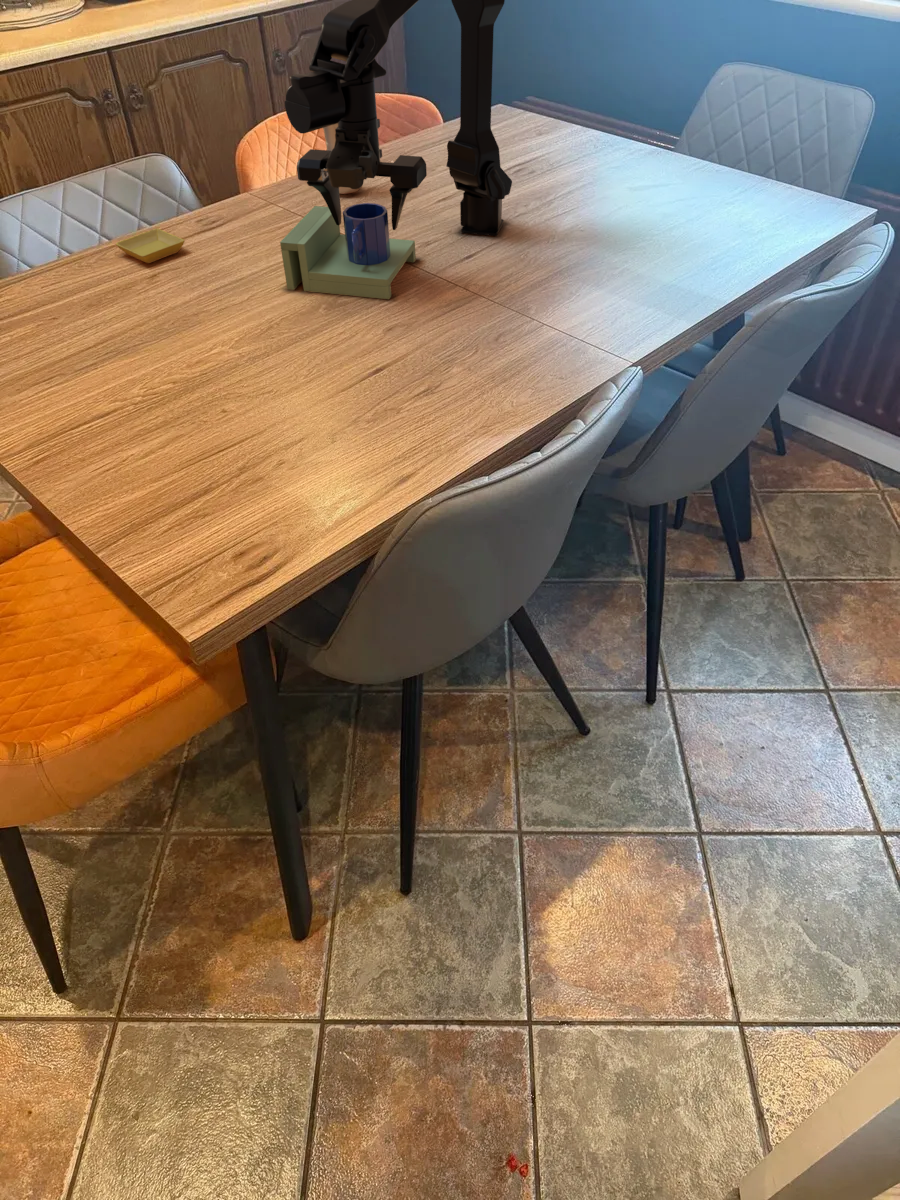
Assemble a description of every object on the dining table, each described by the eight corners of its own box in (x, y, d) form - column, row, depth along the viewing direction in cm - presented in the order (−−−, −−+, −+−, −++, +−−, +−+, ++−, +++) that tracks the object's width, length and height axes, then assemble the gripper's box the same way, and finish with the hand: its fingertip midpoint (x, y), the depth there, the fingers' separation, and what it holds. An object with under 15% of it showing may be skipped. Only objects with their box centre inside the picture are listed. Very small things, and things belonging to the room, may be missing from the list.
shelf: (415, 259, 144) (413, 213, 138) (389, 299, 133) (385, 251, 128) (320, 250, 147) (314, 205, 141) (287, 289, 137) (279, 242, 131)
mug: (395, 249, 139) (392, 204, 134) (377, 273, 133) (374, 227, 128) (355, 246, 140) (351, 201, 135) (336, 269, 134) (331, 224, 129)
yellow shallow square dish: (117, 254, 147) (113, 242, 146) (160, 239, 152) (157, 227, 150) (145, 268, 143) (142, 256, 142) (188, 252, 147) (185, 240, 146)
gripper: (274, 130, 119) (291, 242, 130) (403, 138, 116) (409, 253, 127) (304, 106, 127) (317, 214, 138) (425, 113, 123) (429, 223, 134)
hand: (366, 226), depth 134 cm, fingers open, 9 cm apart
